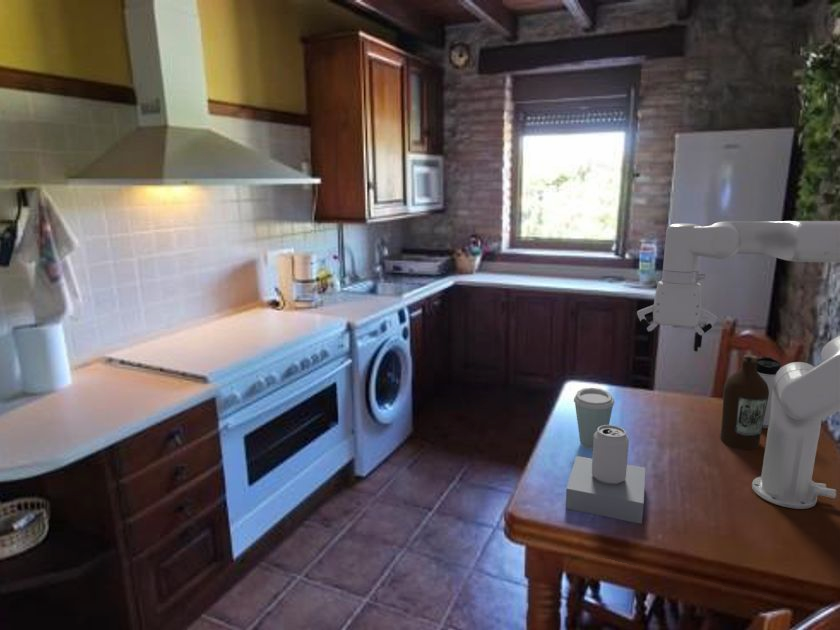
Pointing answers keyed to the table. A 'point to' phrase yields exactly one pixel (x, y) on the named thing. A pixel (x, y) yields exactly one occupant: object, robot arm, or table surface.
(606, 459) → the can
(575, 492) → the grey block
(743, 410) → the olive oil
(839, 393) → the robot arm
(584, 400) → the disposable coffee cup
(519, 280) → the table surface
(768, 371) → the travel mug
